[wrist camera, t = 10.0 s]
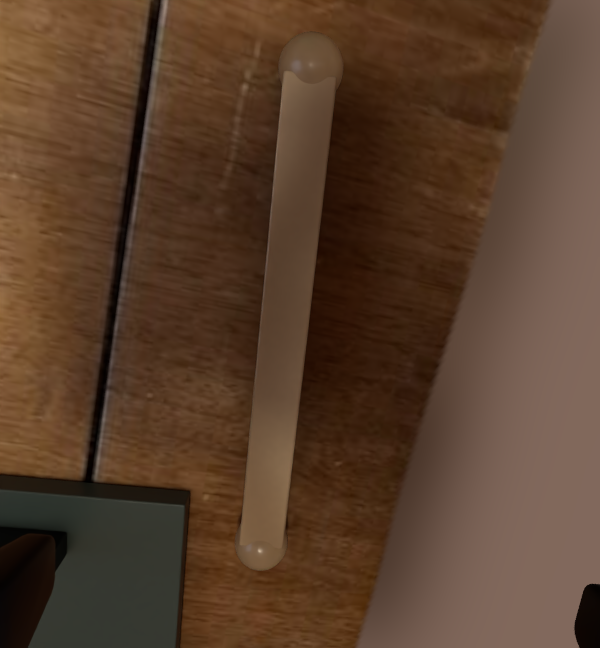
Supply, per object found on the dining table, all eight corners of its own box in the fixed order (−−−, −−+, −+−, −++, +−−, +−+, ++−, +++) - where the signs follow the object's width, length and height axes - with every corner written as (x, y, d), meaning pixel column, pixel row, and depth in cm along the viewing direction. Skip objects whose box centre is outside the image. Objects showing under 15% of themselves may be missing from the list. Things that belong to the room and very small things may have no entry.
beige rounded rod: (344, 47, 17) (350, 26, 15) (285, 549, 21) (284, 585, 19) (282, 39, 17) (281, 17, 15) (235, 545, 21) (229, 580, 19)
